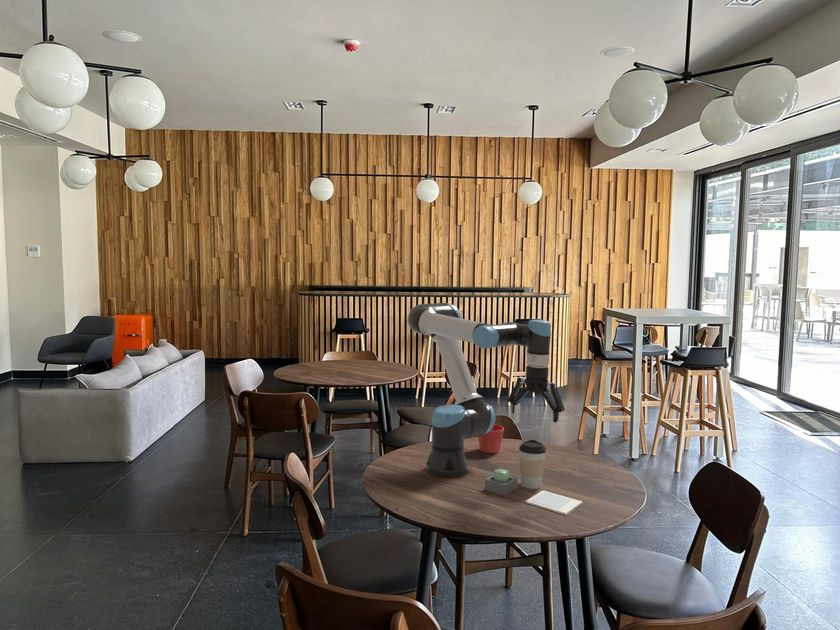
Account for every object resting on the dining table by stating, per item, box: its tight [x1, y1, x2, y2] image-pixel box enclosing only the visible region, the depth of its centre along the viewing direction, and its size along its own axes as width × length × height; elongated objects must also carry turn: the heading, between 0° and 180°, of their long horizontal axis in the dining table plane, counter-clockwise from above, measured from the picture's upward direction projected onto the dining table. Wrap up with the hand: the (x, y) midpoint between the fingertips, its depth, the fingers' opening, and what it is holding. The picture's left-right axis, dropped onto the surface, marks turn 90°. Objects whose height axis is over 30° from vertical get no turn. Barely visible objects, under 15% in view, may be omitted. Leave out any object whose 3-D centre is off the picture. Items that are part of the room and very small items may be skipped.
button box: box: [484, 474, 519, 496], centre depth 202 cm, size 8×8×4 cm
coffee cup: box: [518, 439, 547, 490], centre depth 206 cm, size 9×9×15 cm
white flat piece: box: [524, 490, 583, 516], centre depth 192 cm, size 14×12×1 cm
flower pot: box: [477, 424, 505, 454], centre depth 243 cm, size 11×11×10 cm
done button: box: [493, 468, 510, 483], centre depth 202 cm, size 5×5×4 cm
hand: (534, 427), depth 205 cm, fingers open, 13 cm apart
